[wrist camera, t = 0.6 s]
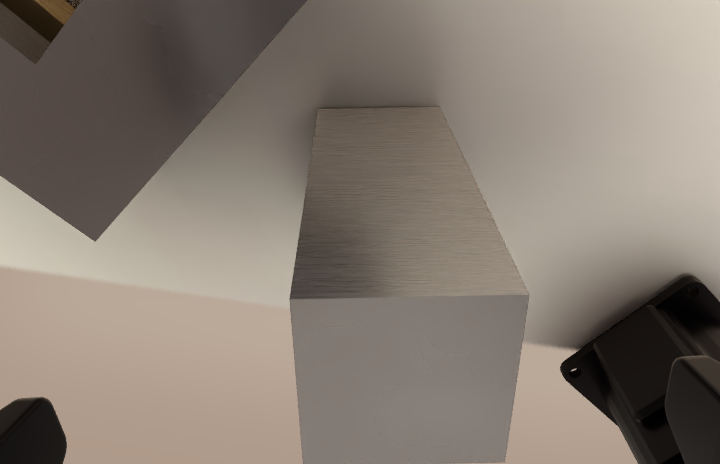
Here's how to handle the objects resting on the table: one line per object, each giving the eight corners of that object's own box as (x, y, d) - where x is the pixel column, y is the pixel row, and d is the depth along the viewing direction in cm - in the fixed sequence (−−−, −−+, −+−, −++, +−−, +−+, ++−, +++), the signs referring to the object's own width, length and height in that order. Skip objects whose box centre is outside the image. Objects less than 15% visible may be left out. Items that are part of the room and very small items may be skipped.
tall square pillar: (439, 106, 20) (529, 294, 10) (433, 215, 22) (505, 462, 12) (313, 108, 20) (280, 299, 10) (318, 217, 22) (295, 467, 12)
